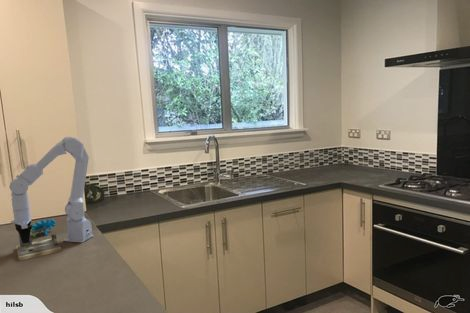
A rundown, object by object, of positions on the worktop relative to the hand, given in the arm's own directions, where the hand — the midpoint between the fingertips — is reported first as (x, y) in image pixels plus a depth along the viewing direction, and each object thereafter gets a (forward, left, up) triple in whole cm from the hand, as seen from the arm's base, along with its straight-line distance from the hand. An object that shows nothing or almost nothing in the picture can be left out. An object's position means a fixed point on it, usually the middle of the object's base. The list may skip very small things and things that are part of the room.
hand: (25, 241), depth 143 cm
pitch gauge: (-5, -1, -4) cm, 6 cm away
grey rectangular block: (-1, +1, -1) cm, 2 cm away
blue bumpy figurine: (+8, -17, -4) cm, 20 cm away
